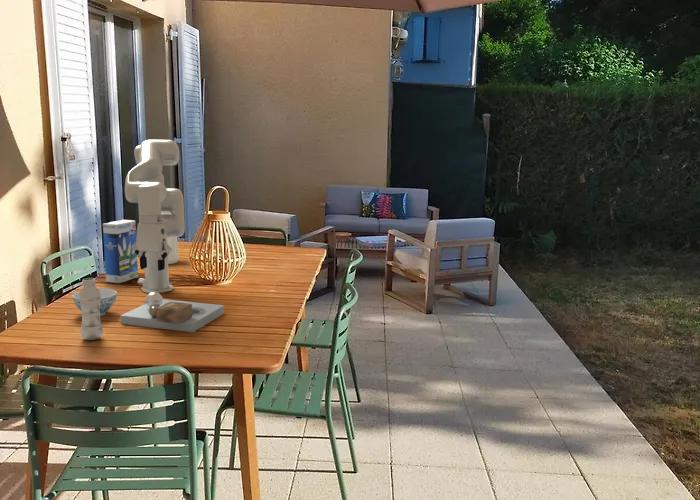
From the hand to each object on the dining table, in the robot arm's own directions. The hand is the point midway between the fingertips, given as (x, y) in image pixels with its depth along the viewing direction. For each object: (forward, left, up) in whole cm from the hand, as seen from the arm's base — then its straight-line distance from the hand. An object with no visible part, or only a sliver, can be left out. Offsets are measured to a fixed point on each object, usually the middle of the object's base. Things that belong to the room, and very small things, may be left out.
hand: (152, 268), depth 230 cm
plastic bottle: (-5, -28, -18) cm, 34 cm away
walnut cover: (+14, -10, -14) cm, 22 cm away
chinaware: (-21, -5, -18) cm, 28 cm away
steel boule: (0, 0, -12) cm, 12 cm away
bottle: (-45, +79, -18) cm, 93 cm away
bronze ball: (+6, -9, -13) cm, 17 cm away
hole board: (+8, 0, -18) cm, 19 cm away
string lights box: (-43, +42, -18) cm, 63 cm away
